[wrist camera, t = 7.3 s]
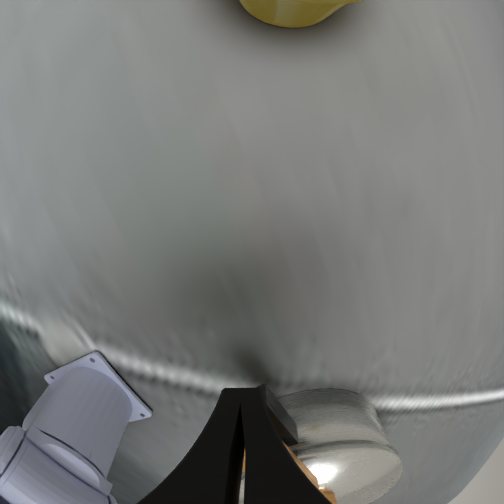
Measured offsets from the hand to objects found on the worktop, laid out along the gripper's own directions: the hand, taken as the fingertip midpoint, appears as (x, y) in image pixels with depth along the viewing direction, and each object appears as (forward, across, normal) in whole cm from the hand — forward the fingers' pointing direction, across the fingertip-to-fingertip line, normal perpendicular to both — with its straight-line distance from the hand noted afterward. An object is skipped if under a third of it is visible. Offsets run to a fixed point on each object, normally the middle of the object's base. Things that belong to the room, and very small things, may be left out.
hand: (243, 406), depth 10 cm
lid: (+4, -4, +14) cm, 15 cm away
